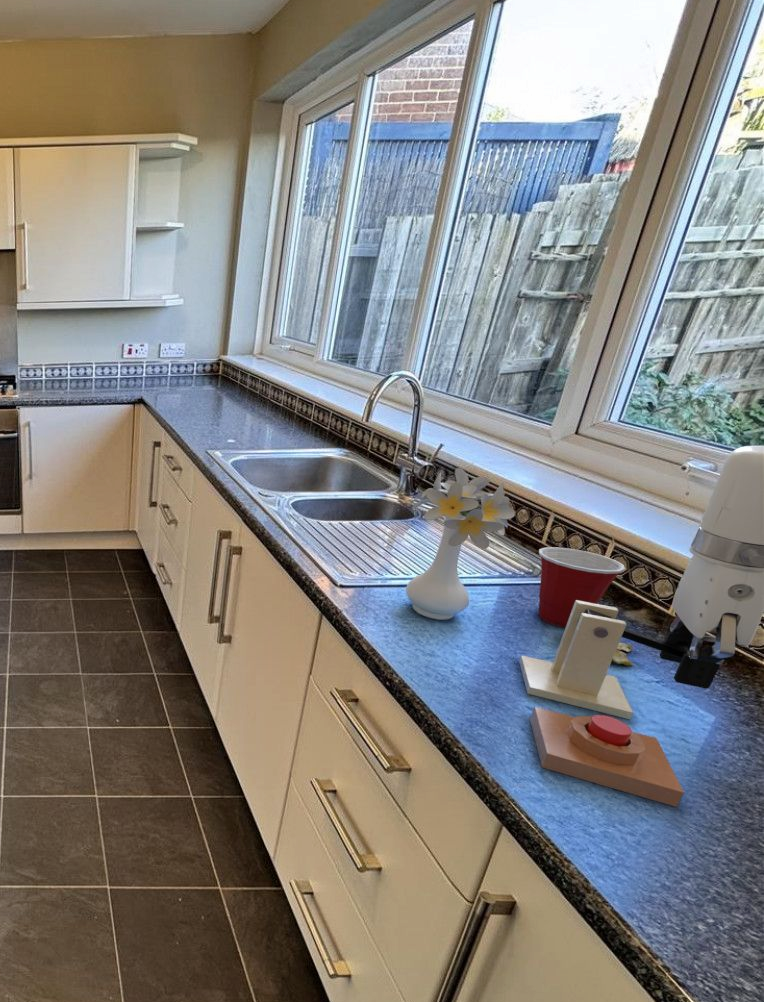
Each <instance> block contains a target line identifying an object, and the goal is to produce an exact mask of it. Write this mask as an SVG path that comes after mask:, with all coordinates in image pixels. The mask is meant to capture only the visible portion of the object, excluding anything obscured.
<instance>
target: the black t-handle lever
mask: <svg viewBox="0 0 764 1002" xmlns="http://www.w3.org/2000/svg"><path fill="white" fill-rule="evenodd" d="M584 613H585V614H590V615H596V616H601V617H606V618H611V619H612V617H610V616H607V615H604V614H601V613H598V612H595V611H593V610H590V609H586V611H585V612H584ZM578 622H579V620H578ZM621 638H623V639H626V640H629V641H632V642H634V643H637V644H640V645H643V646H646V647H649V648H652V649H655V650H658V651H660V652H661V651H663V652H666V653H669V654H672V655H675V656H677V657H680V658H682V657H683V655H684V654H688V655H689V651H690V647H691V645H690V644H689V643H687V642H684V641H681V642H678V643H676V645H673V644H670V643H667V642H665V641H664V640H661V639H659V638H655V637H652V636H649V635H646V634H644V633H641V632H638V631H634V630H631V629H628V628H626V627H625V630H624V632H623V634H622V637H621Z"/></svg>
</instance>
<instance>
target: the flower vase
mask: <svg viewBox="0 0 764 1002" xmlns="http://www.w3.org/2000/svg"><path fill="white" fill-rule="evenodd" d="M454 475H455V479H456V481H455V480H445V482H441V481H442V472H439V474H438V475H437V477H436V478H435V481H434V482H433V487H429V488H427V489H425V490H424V491H423V492H422V494H421V496H420V497H421V499H420V500H419V501H418V502H416V504H415V505H414V506H413V507H412V508H411V510H413V509H415V508H418V507H420V506H422V505H425V504H428V503H430V502H431V503H433V504H434V505H435V506H433V507H431V508H429V509H428V510H427V511H425V513H424V515H423V518H424V519H425V520H426V521H434V520H437V519H440V518H442V517H443V528H442V534H441V538H440V540H439V543H438V547H437V551H436V554H435V556H434V558H433V561H432V563H431V565H430V566H429V567H428V568H427V569H426V570H425V571H424V572H422V573H420V574H418V575H416V576H415V577H413V578H412V579H410V581H409V582H408V583H407V584H406V587H405V594H406V597H407V598H408V600H409V601H410V602H411V603H412V605H411V606H412V609H413V610H414V612H416V613H417V614H419V615H421V616H424V617H426V618H428V619H429V618H430V619H432V620H438V621H439V620H440V621H445V620H446V621H447V620H451V619H452V618H453V617H454V615H456V614H459V613H461V612H463V611H464V610H465V609H466V608H468V607H469V604H470V594H469V592H468V590H467V588H466V586H465V585H464V584H463V583H462V581H461V580H460V578H459V577H460V576H459V572H458V564H459V557H460V552H461V548H462V544H463V543H464V542H466V540H467V539H468V538H469V539H470V541H471V542H472V543H473V544H474V546H476V547H477V548H479V549H482V550H485V549H488V548H489V546H490V541H489V538H488V536H487V534H486V533H485V532H487V533H495V532H497V534H498V535H500V536H504V535H506V534H505V533H506V528H508V527H509V523H508V520H510V519H512V518H514V517H515V516H516V511H515V510H514V509H513V508H512V507H510V498H509V497H508V496H505V490H504V487H505V486H504V485H505V484H504V481H501V482H500V484H499V485H498V488H497V489H496V490H495V491H494V492H493V493H491V492H487V491H483V490H482V489H484V488H485V487H486V486H488V485H489V483H490V480H491V479H490V478H489V477H488V476H478V477H474V478H473V479H471V480H470V481H469V475H468V474H467V473H466V471H465V470H464V469H462V468H460V467H456V469H455V470H454ZM478 500H480V502H479V501H478Z"/></svg>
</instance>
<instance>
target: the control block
mask: <svg viewBox="0 0 764 1002" xmlns="http://www.w3.org/2000/svg"><path fill="white" fill-rule="evenodd" d="M593 716H594V715H577V716H573V715H569V714H565V713H562V712H558V711H554V710H550V709H546V708H542V707H539V706H534V707H533V709H532V712H531V716H530V718H529V722H530V726H531V729H532V733H533V737H534V741H535V746H536V749H537V753H538V758H539V761H540V765H541V768H543V769H547V770H550V771H553V772H555V773H560V774H564V775H566V776H570V777H573V778H576V779H580V780H582V781H587V782H591V783H594V784H596V785H597V784H598V785H600V786H602V787H603V786H604V787H606V788H611V789H615V790H617V791H621V792H624V793H628V794H631V795H634V796H637V797H641V798H645V799H647V800H650V801H651V800H652V801H654V802H657V803H661V804H665V805H667V806H668V805H669V806H672V807H675V808H678V806H679V805H680V802H681V800H682V798H683V796H684V794H685V791H684V790H683V787H682V785H681V783H680V781H679V780H678V778H677V776H676V773H675V771H674V770H673V767H672V766H671V764H670V762H669V760H668V758H667V755H666V754H665V752H664V750H663V748H662V746H661V744H660V742H659V740H658V738H657V737H654V736H650V735H646V734H642V733H639V732H635V731H632V733H631V735H630V738H629V740H628V742H627V744H626V745H625V746H615V745H612V744H608V743H605V742H603V741H601V740H599V739H597V738H595V737H593V736H592V735H591V734H590V733H589V732H588V730H587V728H588V725H589V723H590V721H591V718H592V717H593Z"/></svg>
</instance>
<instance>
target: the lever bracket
mask: <svg viewBox="0 0 764 1002" xmlns="http://www.w3.org/2000/svg"><path fill="white" fill-rule="evenodd" d="M586 609H590V610H593V611H595V612H598V613H601V614H604V615H607V616H610V617H612V619H611V618H606V617H601V616H596V615H590V614H585V613H584V612H585V611H586ZM618 613H619V609H618V607H616V606H609V605H604V604H599V603H597V604H594V603H589V602H584V601H578V600H576V601H575V603H574V606H573V609H572V612H571V614H570V617H569V620H568V623H567V625H566V628H564V631H563V634H562V636H561V639H560V642H559V645H558V648H557V650H556V653H555V656H554V658H553V661H549V660H544V659H540V658H535V657H530V656H527V655H520V658H519V661H518V663H519V666H520V670H521V674H522V678H523V682H524V685H525V690H526V693H527V694H528V695H530V696H531V695H532V696H535V697H539V698H542V699H546V700H547V699H548V700H551V701H554V702H559V703H562V704H568V705H571V706H574V707H579V708H583V709H587V710H591V711H594V712H599V713H603V714H607V715H611V716H615V717H618V718H622V719H626V720H631V719H632V717H633V714H634V711H633V709H632V707H631V705H630V703H629V700H628V699H627V696H626V695H625V693H624V690H623V688H622V687H621V684H620V682H619V681H618V679H617V677H616V676H615V675H609V674H608V671H609V669H610V666H611V664H612V662H613V661H612V659H613V657H614V654H615V652H616V649H617V647H618V644H619V642H621V639H622V638H623V637H622V634H623V632H624V630H625V628H626V627H627V622H626V621H625V620H621V619H617V616H618ZM578 620H579V622H578ZM617 650H618V649H617Z"/></svg>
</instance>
